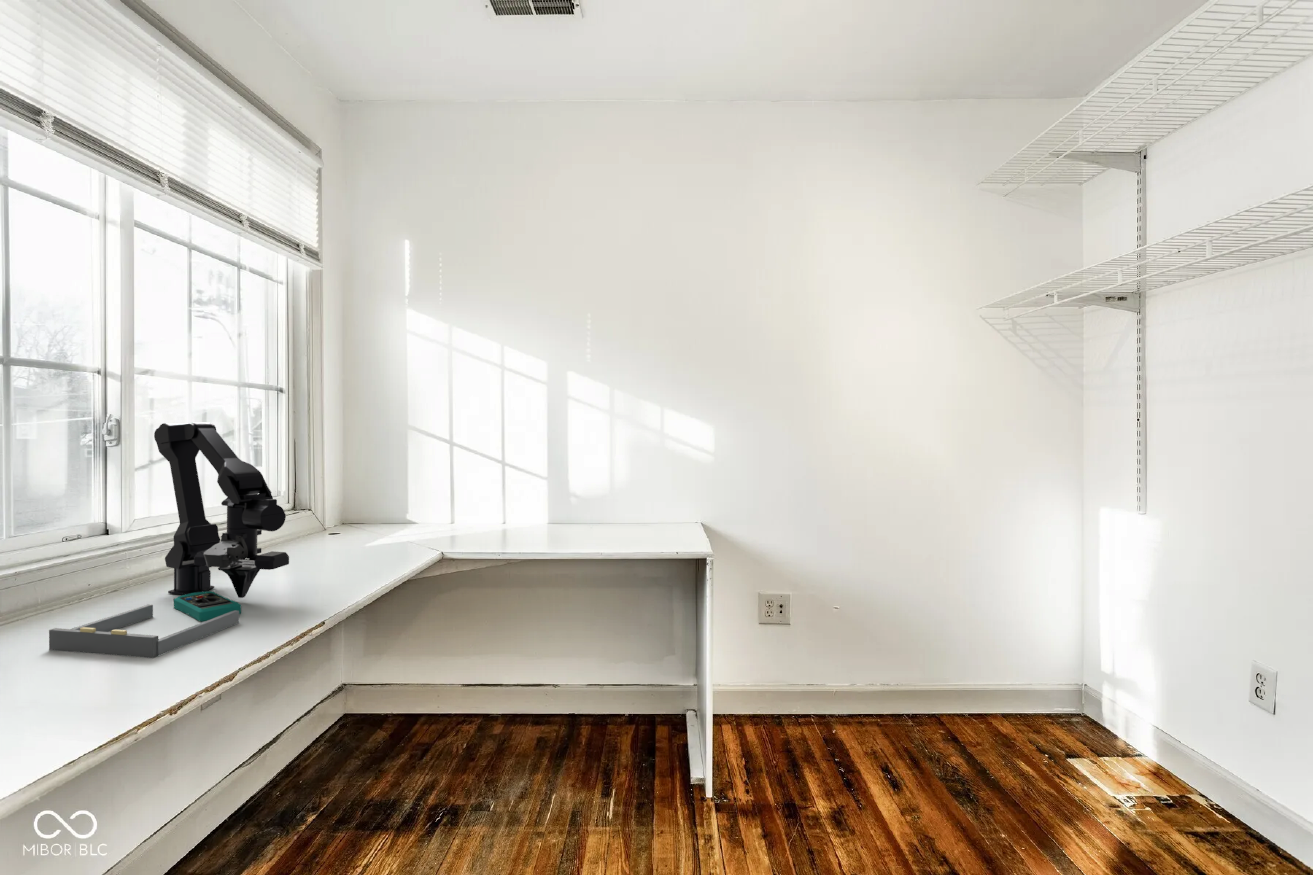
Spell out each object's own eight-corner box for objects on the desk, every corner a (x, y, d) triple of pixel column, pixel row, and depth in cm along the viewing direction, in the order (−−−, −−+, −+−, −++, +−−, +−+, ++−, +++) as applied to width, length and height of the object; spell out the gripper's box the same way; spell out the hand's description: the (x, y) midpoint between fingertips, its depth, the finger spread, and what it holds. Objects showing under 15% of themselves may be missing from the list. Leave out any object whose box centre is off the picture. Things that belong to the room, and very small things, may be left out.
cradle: (49, 649, 115) (49, 626, 115) (148, 616, 134) (148, 596, 134) (153, 657, 112) (153, 634, 112) (239, 622, 132) (239, 602, 132)
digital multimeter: (212, 602, 147) (212, 588, 147) (242, 616, 137) (242, 601, 137) (171, 609, 141) (171, 595, 140) (200, 624, 131) (200, 609, 131)
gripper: (172, 531, 138) (172, 605, 139) (255, 535, 136) (254, 610, 137) (214, 522, 149) (213, 591, 150) (291, 526, 147) (290, 596, 148)
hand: (241, 597), depth 146 cm, fingers closed
